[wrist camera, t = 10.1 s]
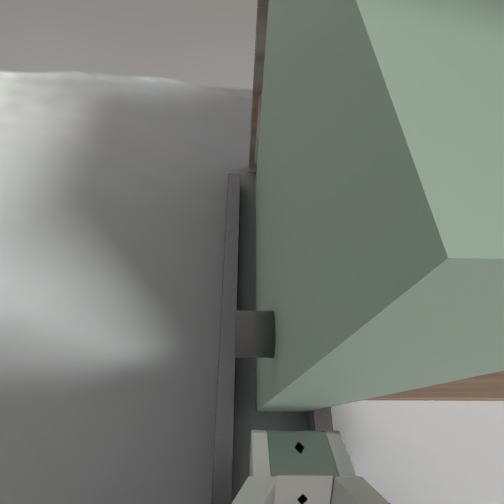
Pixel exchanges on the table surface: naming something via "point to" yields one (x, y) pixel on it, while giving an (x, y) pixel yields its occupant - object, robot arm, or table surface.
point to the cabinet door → (377, 200)
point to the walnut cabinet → (468, 389)
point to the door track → (226, 369)
